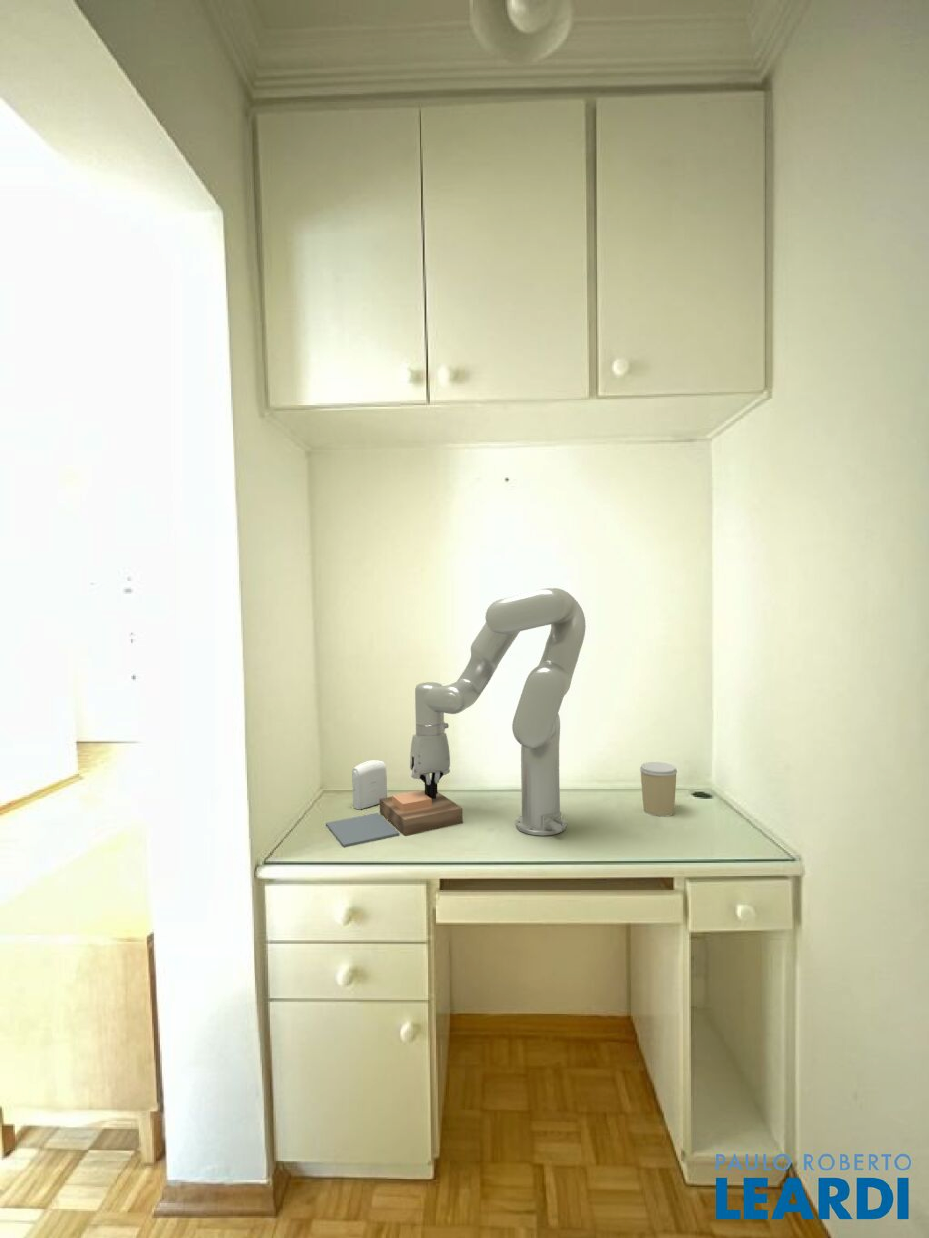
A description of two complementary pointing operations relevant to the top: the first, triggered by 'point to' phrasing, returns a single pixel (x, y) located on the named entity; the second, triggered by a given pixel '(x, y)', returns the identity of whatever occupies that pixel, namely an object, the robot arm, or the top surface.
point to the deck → (422, 815)
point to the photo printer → (369, 783)
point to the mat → (361, 829)
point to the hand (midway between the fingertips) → (431, 797)
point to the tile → (411, 801)
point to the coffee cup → (658, 788)
